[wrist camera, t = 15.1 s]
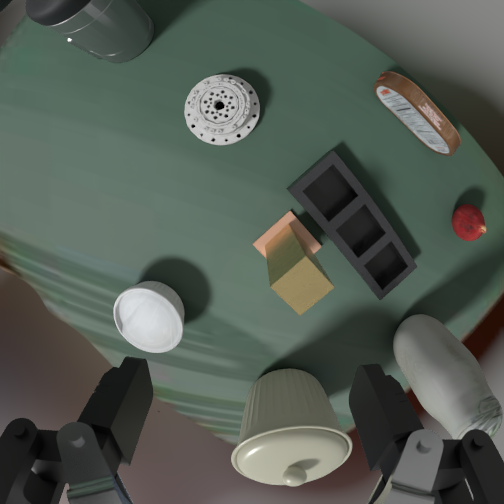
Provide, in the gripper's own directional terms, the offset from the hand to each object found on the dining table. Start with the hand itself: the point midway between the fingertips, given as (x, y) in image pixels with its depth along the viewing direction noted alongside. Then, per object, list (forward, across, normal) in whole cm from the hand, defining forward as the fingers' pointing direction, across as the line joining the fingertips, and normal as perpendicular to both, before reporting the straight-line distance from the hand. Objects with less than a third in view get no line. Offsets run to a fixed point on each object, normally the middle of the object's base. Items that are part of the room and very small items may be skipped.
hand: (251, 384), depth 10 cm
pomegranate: (+32, -34, -2) cm, 47 cm away
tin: (+32, -22, -16) cm, 42 cm away
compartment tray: (+32, -15, +1) cm, 35 cm away
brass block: (+32, -5, +4) cm, 32 cm away
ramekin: (+32, +15, +15) cm, 39 cm away
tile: (+32, -5, +4) cm, 33 cm away
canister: (+32, -7, +32) cm, 46 cm away
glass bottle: (+32, -29, +19) cm, 47 cm away
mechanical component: (+32, +4, -15) cm, 36 cm away
